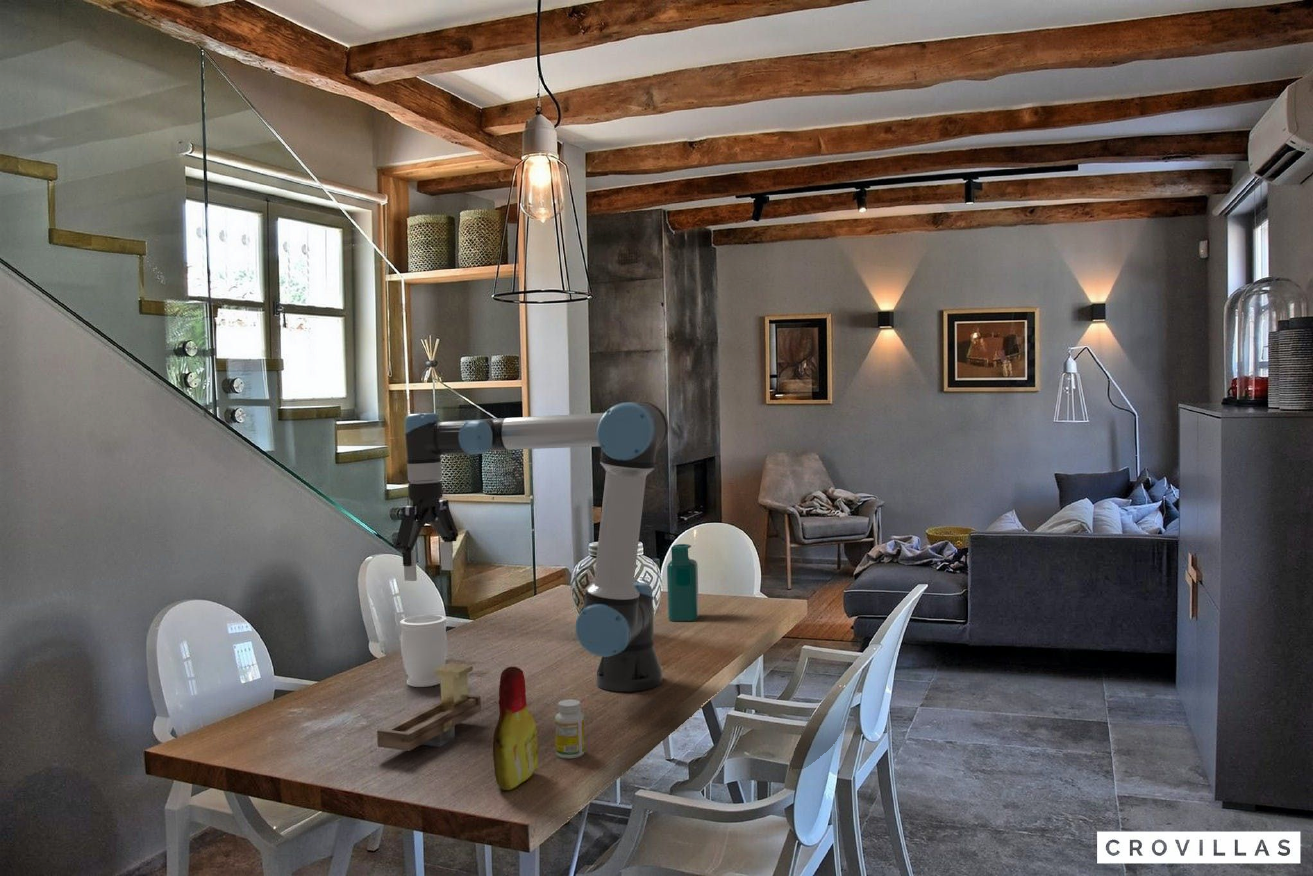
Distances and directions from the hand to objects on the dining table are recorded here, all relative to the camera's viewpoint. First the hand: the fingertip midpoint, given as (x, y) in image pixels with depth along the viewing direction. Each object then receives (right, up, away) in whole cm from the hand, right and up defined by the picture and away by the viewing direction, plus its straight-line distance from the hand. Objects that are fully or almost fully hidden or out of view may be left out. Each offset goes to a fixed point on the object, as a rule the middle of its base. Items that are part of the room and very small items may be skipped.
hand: (429, 575), depth 226 cm
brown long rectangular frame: (+8, -28, -33) cm, 44 cm away
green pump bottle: (+59, -22, +66) cm, 92 cm away
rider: (+11, -23, -25) cm, 36 cm away
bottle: (+27, -28, -55) cm, 67 cm away
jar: (-3, -26, +7) cm, 27 cm away
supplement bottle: (+36, -28, -42) cm, 61 cm away
